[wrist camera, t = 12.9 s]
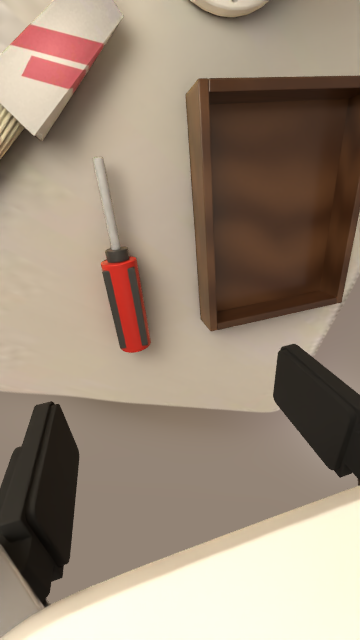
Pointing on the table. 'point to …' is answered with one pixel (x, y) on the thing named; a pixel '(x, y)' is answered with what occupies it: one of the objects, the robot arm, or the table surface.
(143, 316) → the screwdriver
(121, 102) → the table surface
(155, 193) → the table surface
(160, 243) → the table surface
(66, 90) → the paintbrush
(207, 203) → the wooden tray
